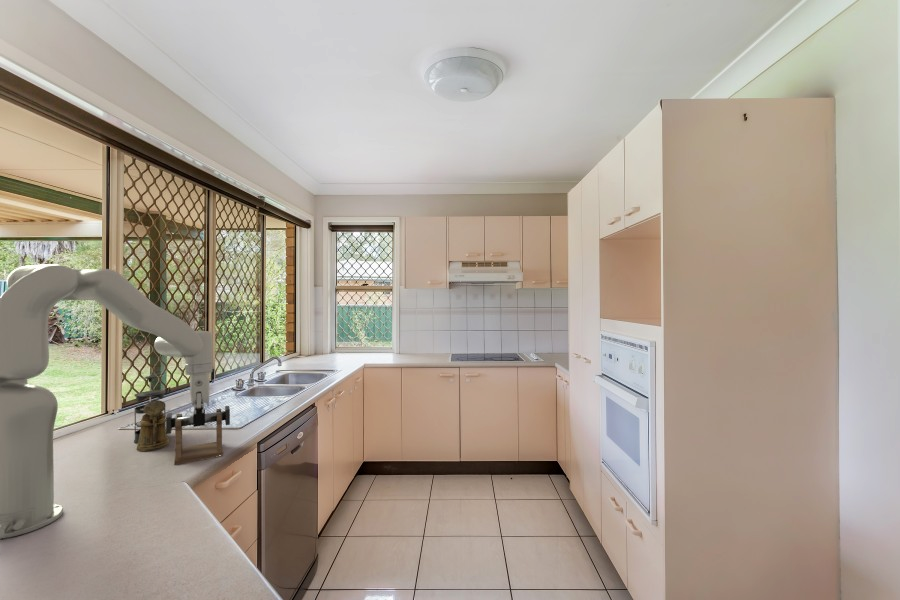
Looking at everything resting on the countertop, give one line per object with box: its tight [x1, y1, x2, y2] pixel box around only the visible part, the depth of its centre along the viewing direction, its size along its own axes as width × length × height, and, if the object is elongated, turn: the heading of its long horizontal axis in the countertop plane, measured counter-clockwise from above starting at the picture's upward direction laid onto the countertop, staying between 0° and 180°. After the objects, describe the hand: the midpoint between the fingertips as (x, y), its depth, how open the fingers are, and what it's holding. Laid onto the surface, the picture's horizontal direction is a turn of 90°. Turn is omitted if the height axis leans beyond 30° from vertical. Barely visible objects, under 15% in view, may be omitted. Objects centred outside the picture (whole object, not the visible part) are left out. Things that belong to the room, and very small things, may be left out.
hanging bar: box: [165, 405, 231, 435], centre depth 129 cm, size 5×17×5 cm, turn 122°
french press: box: [133, 375, 166, 445], centre depth 143 cm, size 12×9×23 cm
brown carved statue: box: [136, 399, 170, 452], centre depth 134 cm, size 9×14×18 cm, turn 40°
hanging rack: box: [173, 408, 224, 466], centre depth 129 cm, size 12×13×13 cm
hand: (199, 423), depth 129 cm, fingers open, 3 cm apart
